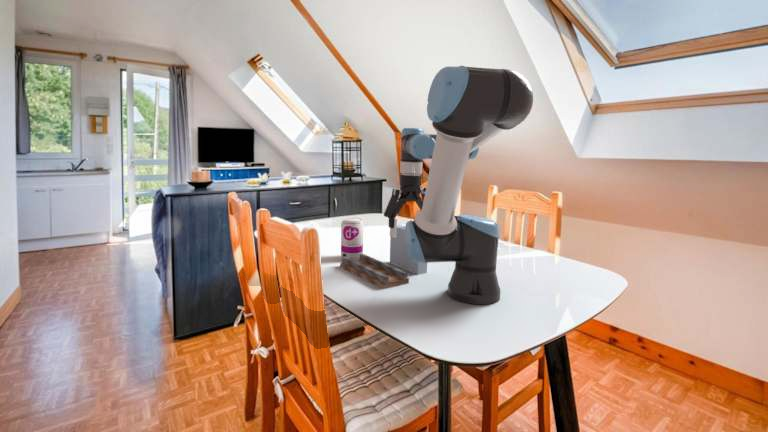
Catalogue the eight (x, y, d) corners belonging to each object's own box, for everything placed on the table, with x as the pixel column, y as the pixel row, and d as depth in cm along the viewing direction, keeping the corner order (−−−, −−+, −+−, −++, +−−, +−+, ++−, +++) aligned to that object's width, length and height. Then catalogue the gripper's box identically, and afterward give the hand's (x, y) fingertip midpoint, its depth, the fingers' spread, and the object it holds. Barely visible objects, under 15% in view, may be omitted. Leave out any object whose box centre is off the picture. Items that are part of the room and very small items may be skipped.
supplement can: (359, 262, 150) (360, 222, 147) (338, 260, 151) (338, 220, 148) (365, 256, 157) (365, 218, 155) (344, 254, 159) (344, 216, 156)
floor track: (408, 283, 128) (409, 272, 128) (382, 288, 123) (383, 277, 122) (364, 262, 149) (364, 253, 149) (340, 266, 144) (340, 257, 143)
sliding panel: (426, 272, 139) (428, 233, 137) (417, 274, 137) (419, 234, 135) (398, 261, 152) (399, 224, 150) (389, 262, 150) (390, 225, 147)
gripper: (430, 172, 149) (428, 228, 153) (374, 174, 135) (373, 236, 139) (445, 174, 143) (441, 232, 147) (387, 176, 129) (386, 241, 133)
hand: (408, 234), depth 143 cm, fingers open, 13 cm apart
